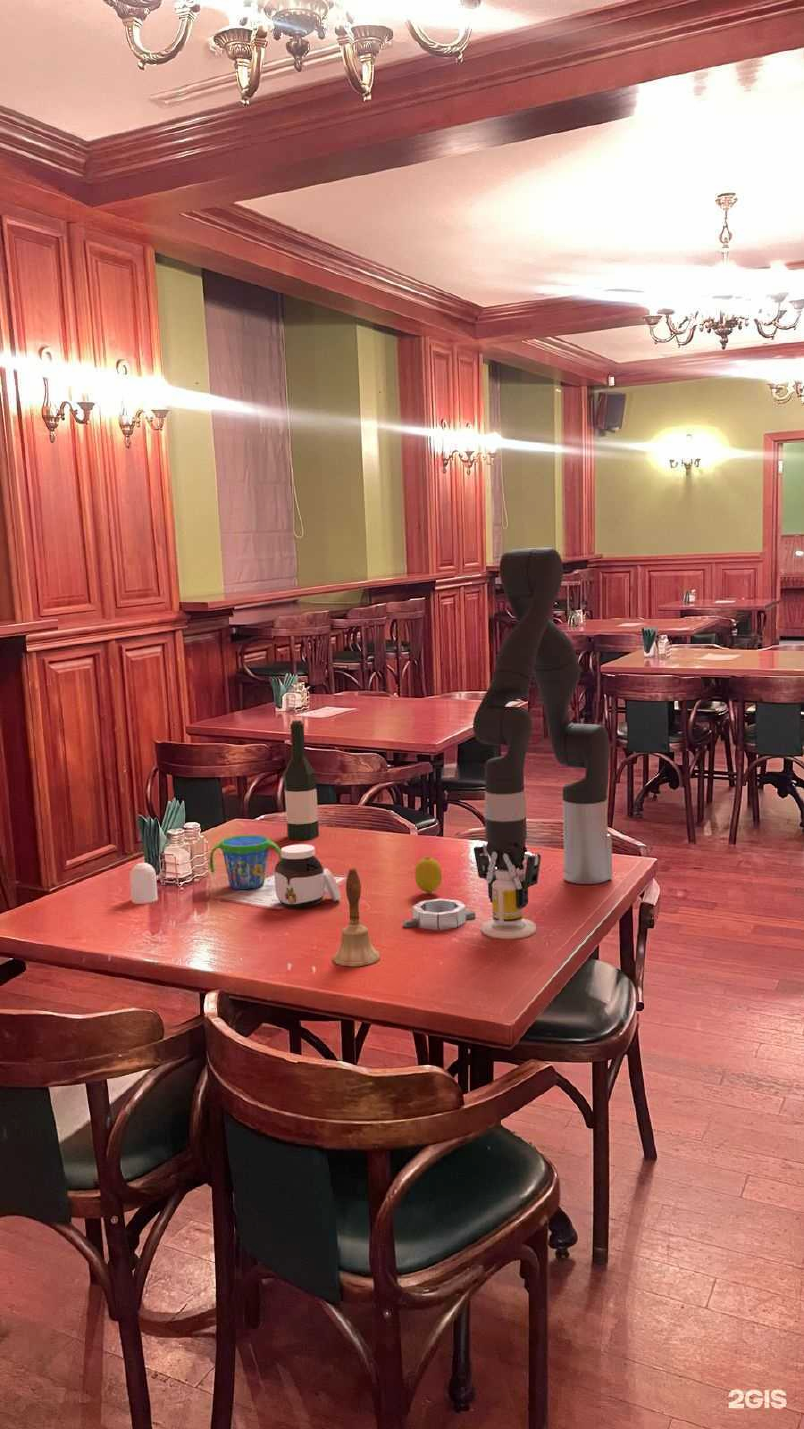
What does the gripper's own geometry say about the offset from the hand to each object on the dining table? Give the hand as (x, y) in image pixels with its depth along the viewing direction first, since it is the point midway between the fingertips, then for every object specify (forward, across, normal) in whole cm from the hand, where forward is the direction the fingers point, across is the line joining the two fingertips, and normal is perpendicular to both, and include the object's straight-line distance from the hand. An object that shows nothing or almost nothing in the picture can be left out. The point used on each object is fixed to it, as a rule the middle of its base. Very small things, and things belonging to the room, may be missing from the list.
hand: (508, 904), depth 205 cm
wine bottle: (+5, +87, -28) cm, 92 cm away
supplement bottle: (+3, 0, 0) cm, 3 cm away
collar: (+5, +14, +4) cm, 15 cm away
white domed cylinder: (+5, +74, +29) cm, 80 cm away
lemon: (+5, +27, -9) cm, 29 cm away
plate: (+5, 0, 0) cm, 5 cm away
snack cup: (+5, +64, +9) cm, 65 cm away
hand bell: (+5, +12, +28) cm, 31 cm away
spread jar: (+5, +44, +10) cm, 45 cm away
